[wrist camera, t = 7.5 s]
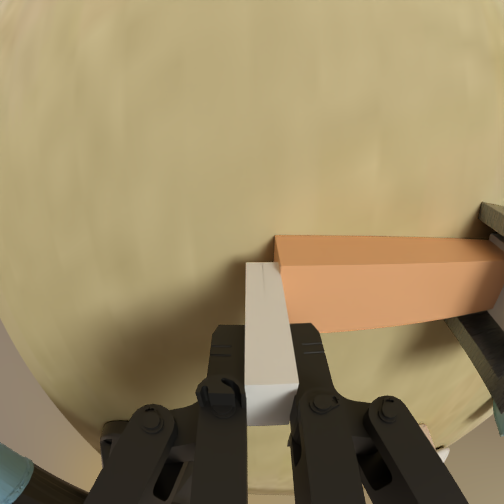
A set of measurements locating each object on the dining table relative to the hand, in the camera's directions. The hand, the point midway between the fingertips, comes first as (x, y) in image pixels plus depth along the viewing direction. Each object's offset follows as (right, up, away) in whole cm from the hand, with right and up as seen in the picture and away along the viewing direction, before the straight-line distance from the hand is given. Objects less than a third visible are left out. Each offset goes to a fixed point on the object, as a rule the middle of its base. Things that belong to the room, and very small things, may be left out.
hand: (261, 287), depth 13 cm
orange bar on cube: (+12, +1, +2) cm, 12 cm away
